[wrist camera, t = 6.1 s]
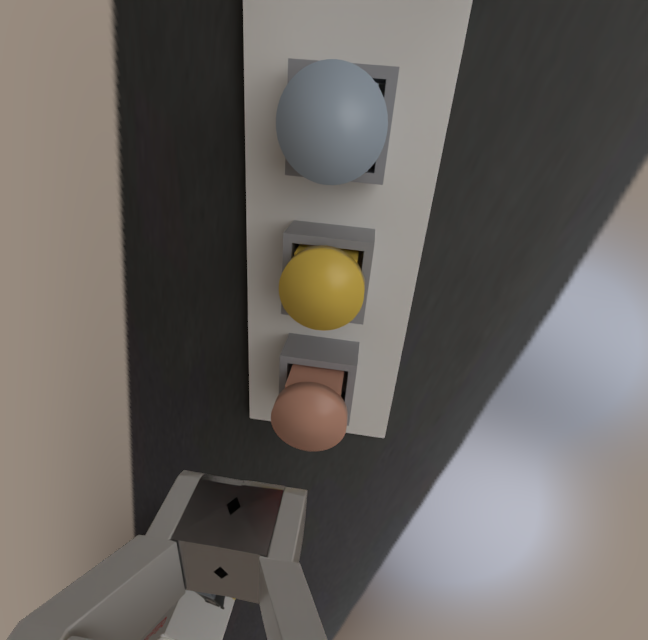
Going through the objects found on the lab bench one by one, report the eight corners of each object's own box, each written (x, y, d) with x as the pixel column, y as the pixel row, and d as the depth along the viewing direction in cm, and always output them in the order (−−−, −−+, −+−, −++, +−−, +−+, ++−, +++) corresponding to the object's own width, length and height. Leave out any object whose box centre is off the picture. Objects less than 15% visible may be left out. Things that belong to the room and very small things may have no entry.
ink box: (225, 558, 44) (176, 697, 33) (185, 538, 43) (122, 674, 32) (262, 520, 40) (220, 664, 29) (218, 497, 39) (159, 637, 28)
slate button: (298, 67, 19) (277, 54, 15) (393, 75, 19) (396, 63, 15) (294, 167, 21) (274, 179, 17) (379, 176, 21) (379, 190, 17)
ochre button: (296, 224, 24) (279, 246, 20) (371, 232, 24) (369, 256, 20) (293, 293, 26) (277, 324, 22) (362, 301, 26) (358, 335, 22)
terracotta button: (287, 346, 27) (271, 386, 23) (355, 355, 26) (350, 398, 22) (285, 399, 29) (270, 445, 25) (347, 408, 28) (342, 456, 24)
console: (248, -19, 20) (220, -48, 16) (470, -5, 19) (491, -33, 15) (253, 409, 33) (237, 445, 29) (384, 429, 32) (384, 468, 29)
